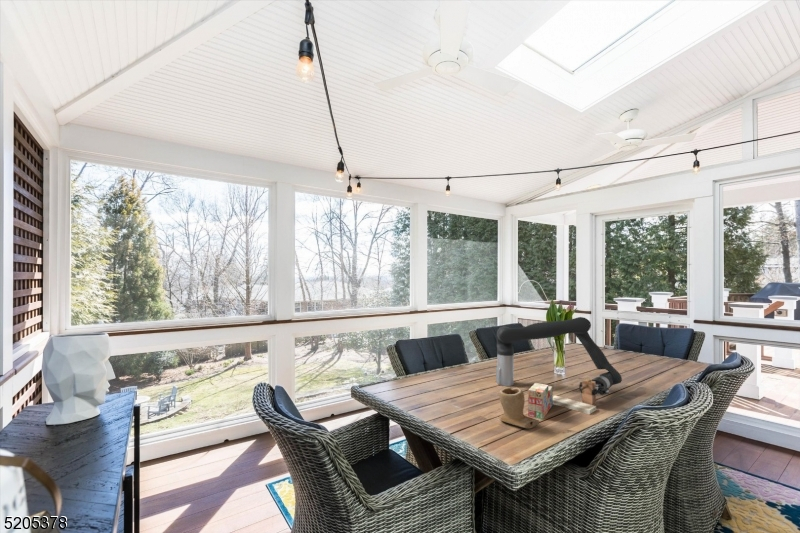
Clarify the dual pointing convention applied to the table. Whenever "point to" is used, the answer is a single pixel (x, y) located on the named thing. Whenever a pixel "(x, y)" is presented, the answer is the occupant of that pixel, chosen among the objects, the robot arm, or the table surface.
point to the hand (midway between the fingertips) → (586, 391)
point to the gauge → (588, 392)
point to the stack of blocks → (539, 400)
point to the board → (573, 405)
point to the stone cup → (515, 408)
